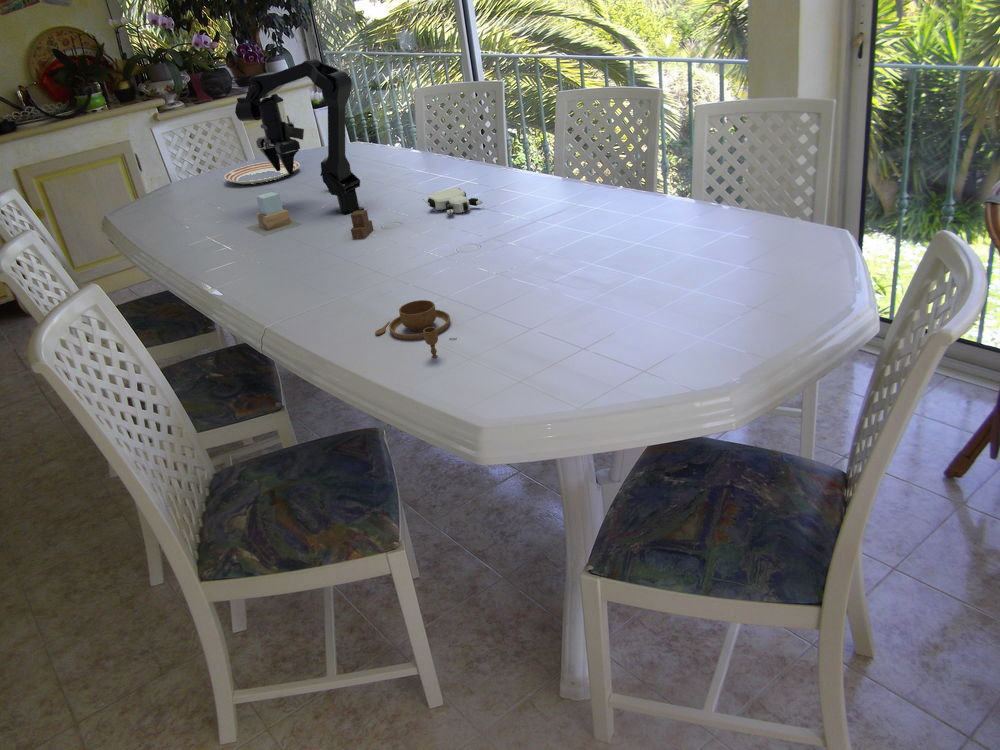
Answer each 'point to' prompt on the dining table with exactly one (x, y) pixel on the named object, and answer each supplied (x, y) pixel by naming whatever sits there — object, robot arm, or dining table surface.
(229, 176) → the dinner plate
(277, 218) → the tan square block
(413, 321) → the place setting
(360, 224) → the stack of crates
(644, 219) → the dining table surface
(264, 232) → the mat
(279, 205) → the slate block
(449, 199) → the robot toy
